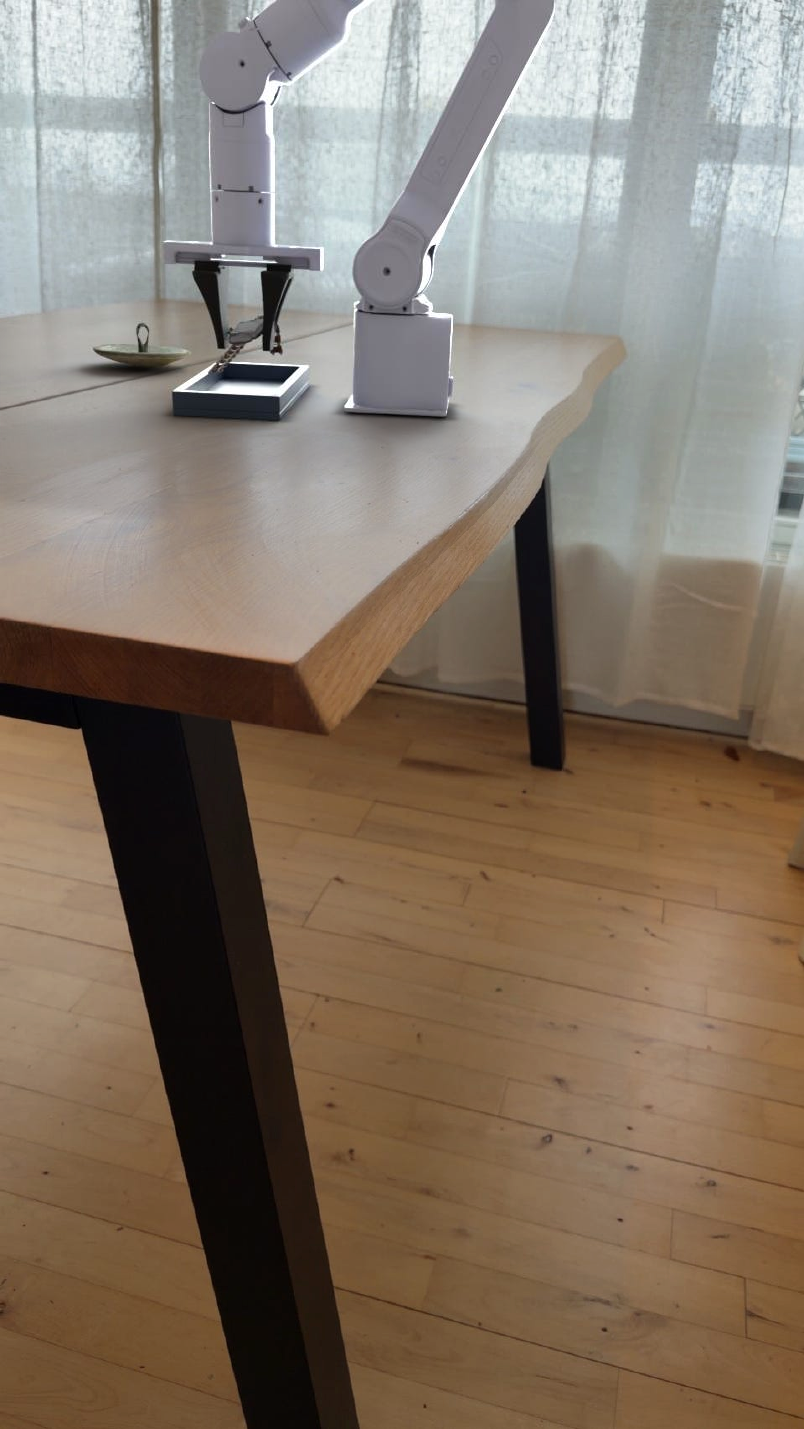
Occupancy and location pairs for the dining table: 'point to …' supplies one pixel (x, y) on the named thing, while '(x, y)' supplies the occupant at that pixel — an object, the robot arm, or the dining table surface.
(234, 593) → the dining table surface
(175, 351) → the lid
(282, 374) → the holder
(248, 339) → the wristwatch
